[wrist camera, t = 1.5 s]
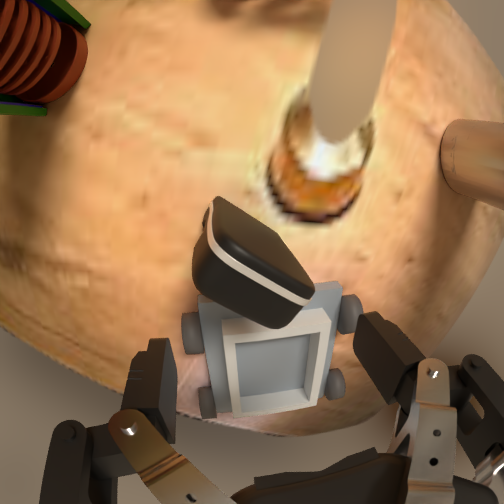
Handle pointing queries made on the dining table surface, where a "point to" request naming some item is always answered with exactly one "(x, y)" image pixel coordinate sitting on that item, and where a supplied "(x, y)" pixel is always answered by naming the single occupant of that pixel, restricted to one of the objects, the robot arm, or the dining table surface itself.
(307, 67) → the dining table surface
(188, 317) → the chassis
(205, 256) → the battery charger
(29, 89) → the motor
